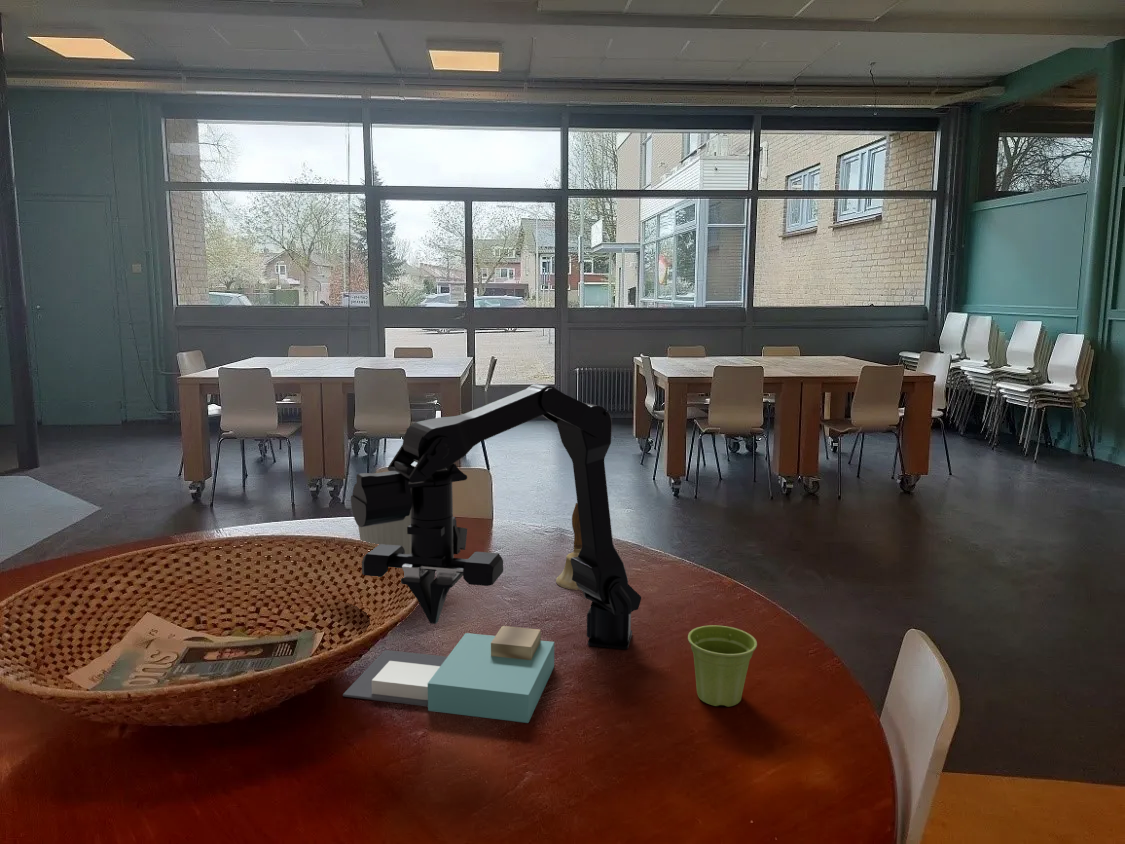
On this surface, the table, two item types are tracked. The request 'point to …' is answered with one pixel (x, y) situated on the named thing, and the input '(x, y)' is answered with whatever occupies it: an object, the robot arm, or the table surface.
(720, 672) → the plant pot
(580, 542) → the hand bell
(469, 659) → the plate
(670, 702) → the table surface
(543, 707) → the table surface
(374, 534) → the canister
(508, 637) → the oak tile
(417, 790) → the table surface
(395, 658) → the mat
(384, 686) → the white box
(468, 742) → the table surface
